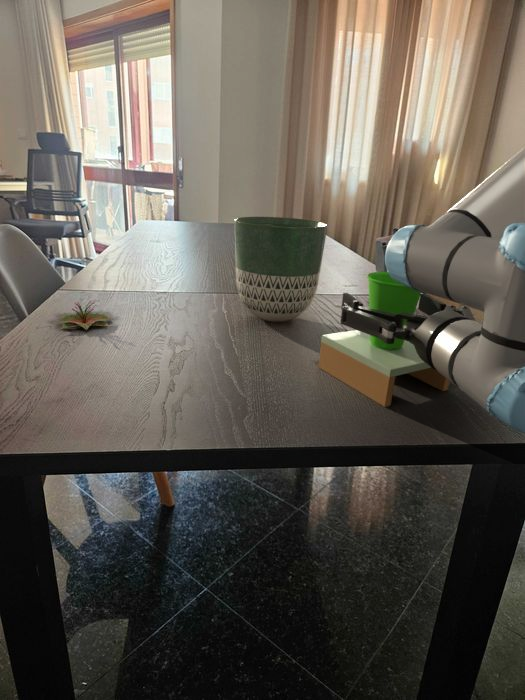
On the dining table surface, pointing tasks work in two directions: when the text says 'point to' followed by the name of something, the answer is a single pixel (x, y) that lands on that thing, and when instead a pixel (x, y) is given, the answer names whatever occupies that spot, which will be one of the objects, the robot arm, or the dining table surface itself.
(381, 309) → the cup
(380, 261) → the moka pot
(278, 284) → the planter
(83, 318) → the lily flower
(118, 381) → the dining table surface
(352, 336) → the shelf
